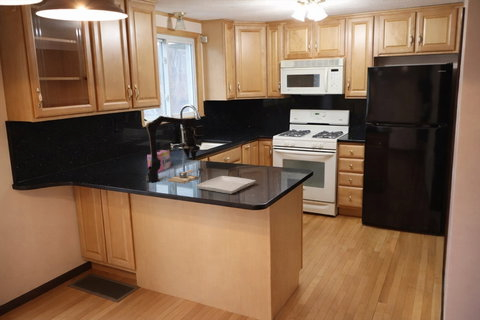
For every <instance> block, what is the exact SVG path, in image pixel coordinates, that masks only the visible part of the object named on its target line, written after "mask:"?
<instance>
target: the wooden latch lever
mask: <svg viewBox="0 0 480 320" xmlns="http://www.w3.org/2000/svg"><path fill="white" fill-rule="evenodd" d="M190 173H194V169H193V168H191V169H188V170H186V171H181V172H179V173H178V176H179V178H187V175H189V174H190Z"/></svg>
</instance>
